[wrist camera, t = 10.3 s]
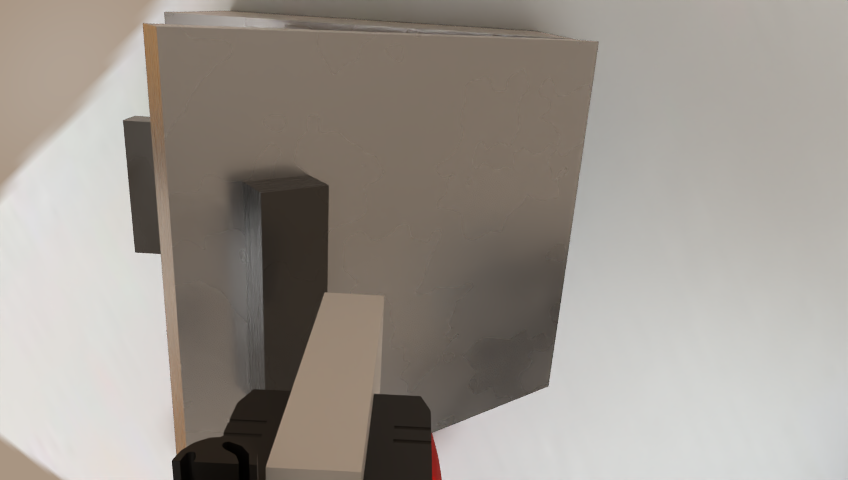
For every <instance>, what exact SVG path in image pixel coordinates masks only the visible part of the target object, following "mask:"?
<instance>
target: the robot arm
mask: <svg viewBox="0 0 848 480" xmlns="http://www.w3.org/2000/svg"><path fill="white" fill-rule="evenodd" d="M383 314H384V296H381V295H363V294H345V293H327V292H325V293H324V296H323V299H322V302H321V305H320V308H319V311H318V314H317V317H316V320H315V323H314V326H313V329H312V331H311V334H310V337H309V340H308V343H307V346H306V349H305V352H304V355H303V358H302V361H301V364H300V367H299V370H298V373H297V376H296V379H295V382H294V385H293V388H292V391H281V390H262V389H253V390H252V391H251V392H250V393H248V394H247V395H246V396H245V397H244V398H242V399H241V400H240V401H239V402H238V403H237V404H236V407H235V409H234V411H233V413H232V415H231V417H230V421H229V422H228V424H227V426H226V428H225V430H224V433H223V436H222V437H210V438H207V439H204V440H200V441H197V442H194V443H192V444H191V445H189V446H187V447H186V448H184V449H182V450H181V451H180V452H179V453H178V454H177V455H176V457H175V458H174V459H173V460H172V468H173V479H174V480H432V445H431V442H432V440H431V410H430V409H429V407H428V406H427V404H426V403H425V402H424V400H423V399H422V397H421V396H409V395H390V394H380V380H381V358H382V336H383Z"/></svg>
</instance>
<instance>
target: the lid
mask: <svg viewBox="0 0 848 480" xmlns="http://www.w3.org/2000/svg"><path fill="white" fill-rule="evenodd" d="M143 32H144V45H145V58H146V71H147V84H148V96H149V109H150V122H151V135H152V147H153V160H154V173H155V186H156V198H157V211H158V224H159V237H160V250H161V262H162V275H163V288H164V301H165V313H166V326H167V339H168V352H169V365H170V377H171V390H172V403H173V416H174V428H175V441H176V454H178V453H179V452H180V451H181V450H182V449H184V448H186V447H187V446H189V445H191V444H192V443H194V442H197V441H200V440H204V439H207V438H210V437H222V436H223V433H224V430H225V428H226V426H227V424H228V422H229V421H230V417H231V415H232V413H233V411H234V409H235V407H236V404H237V403H238V402H239V401H240V400H241V399H242V398H244V397H245V396H246V395H247V394H248V393H250V392H251V391H252V390H253V389H262V390H281V391H292V388H293V385H294V382H295V379H296V376H297V373H298V370H299V367H300V364H301V361H302V358H303V355H304V352H305V349H306V346H307V343H308V340H309V337H310V334H311V331H312V329H313V326H314V323H315V320H316V317H317V314H318V311H319V308H320V305H321V302H322V299H323V296H324V293H325V292H327V293H345V294H363V295H381V296H384V314H383V336H382V358H381V380H380V394H390V395H409V396H421V397H422V399H423V400H424V402H425V403H426V404H427V406H428V407H429V409H430V410H431V433H433V432H435V431H438V430H440V429H443V428H445V427H448V426H450V425H453V424H455V423H458V422H460V421H463V420H465V419H468V418H470V417H473V416H475V415H478V414H480V413H483V412H485V411H488V410H490V409H493V408H495V407H498V406H500V405H503V404H505V403H508V402H510V401H513V400H515V399H518V398H520V397H523V396H525V395H528V394H530V393H533V392H535V391H538V390H540V389H543V388H545V387H548V385H549V378H550V372H551V365H552V358H553V351H554V344H555V337H556V331H557V324H558V317H559V310H560V303H561V296H562V289H563V283H564V276H565V269H566V262H567V255H568V248H569V242H570V235H571V228H572V221H573V214H574V207H575V200H576V194H577V187H578V180H579V173H580V166H581V159H582V153H583V146H584V139H585V132H586V125H587V118H588V111H589V105H590V98H591V91H592V84H593V77H594V70H595V64H596V57H597V50H598V43H599V42H596V41H586V40H576V39H553V38H526V37H499V36H472V35H445V34H418V33H391V32H364V31H336V30H309V29H282V28H255V27H228V26H201V25H174V24H147V23H143Z"/></svg>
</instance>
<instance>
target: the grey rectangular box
mask: <svg viewBox="0 0 848 480" xmlns="http://www.w3.org/2000/svg"><path fill="white" fill-rule="evenodd" d="M164 15H165V24H174V25H201V26H228V27H255V28H282V29H309V30H336V31H364V32H391V33H418V34H445V35H472V36H499V37H526V38H553V39H571V38H566V37H562V36H557V35H553V34H548V33H543V32H539V31H528V30H513V29H498V28H482V27H467V26H452V25H437V24H422V23H407V22H391V21H376V20H361V19H346V18H331V17H315V16H300V15H285V14H270V13H255V12H240V11H199V12H164ZM123 125H124V136H125V147H126V158H127V169H128V179H129V190H130V201H131V212H132V223H133V234H134V244H135V252H137V253H154V254H161V250H160V237H159V224H158V211H157V198H156V186H155V173H154V160H153V147H152V135H151V122H150V117H144V116H133V117H131V118H128V119H125V120H123Z"/></svg>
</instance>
